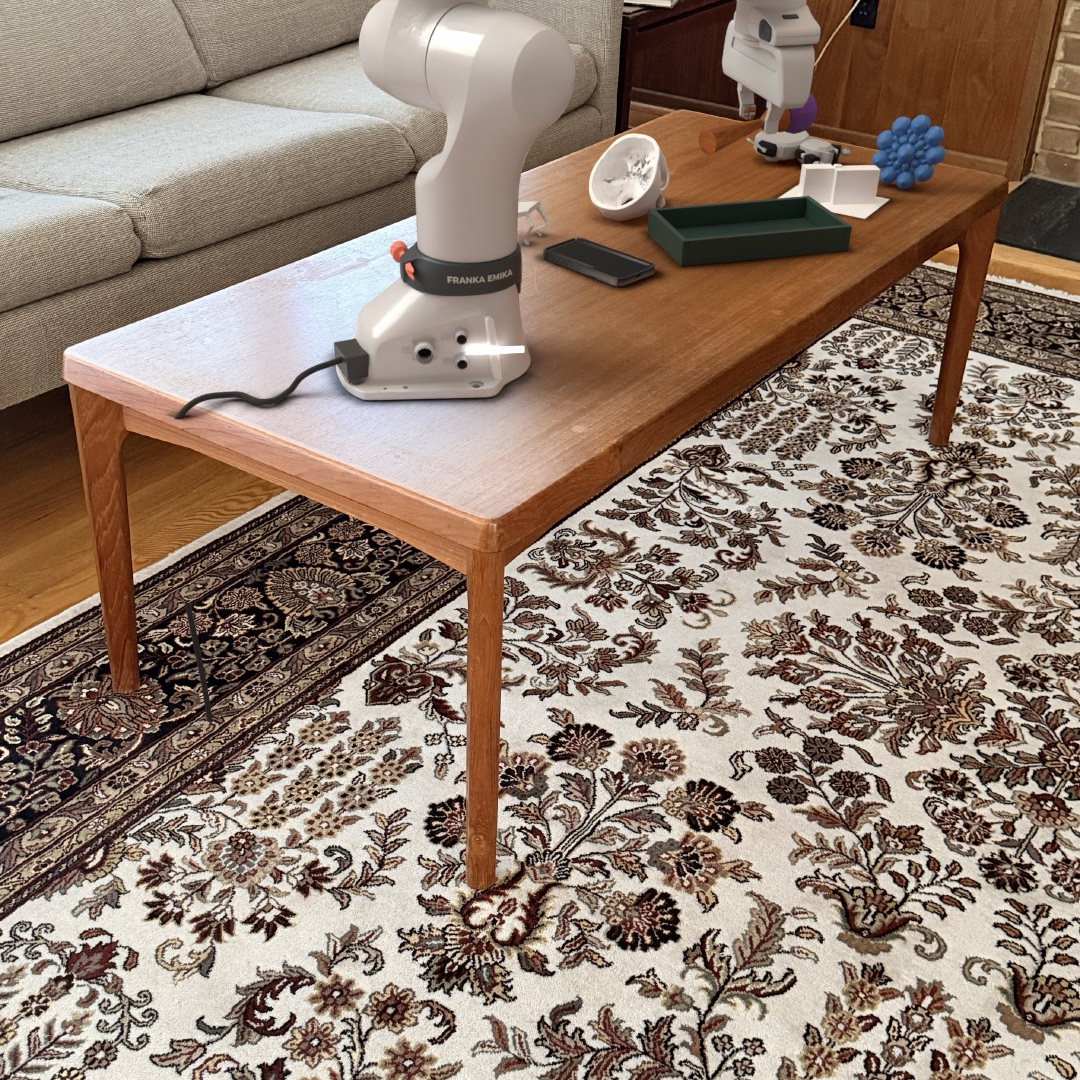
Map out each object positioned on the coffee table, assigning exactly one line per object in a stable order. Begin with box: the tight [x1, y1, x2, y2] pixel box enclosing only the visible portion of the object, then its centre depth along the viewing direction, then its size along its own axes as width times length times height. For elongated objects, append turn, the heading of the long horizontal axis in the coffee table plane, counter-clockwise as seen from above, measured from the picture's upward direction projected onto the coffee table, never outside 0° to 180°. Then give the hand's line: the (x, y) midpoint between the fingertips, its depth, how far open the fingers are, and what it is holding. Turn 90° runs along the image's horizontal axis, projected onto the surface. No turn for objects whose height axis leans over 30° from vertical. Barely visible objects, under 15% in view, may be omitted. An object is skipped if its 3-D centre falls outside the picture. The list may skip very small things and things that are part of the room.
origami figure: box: [518, 200, 551, 246], centre depth 174 cm, size 12×8×5 cm
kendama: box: [698, 92, 818, 156], centre depth 166 cm, size 6×6×20 cm
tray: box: [646, 196, 853, 267], centre depth 176 cm, size 26×14×4 cm, turn 106°
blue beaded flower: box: [871, 114, 947, 190], centre depth 196 cm, size 12×7×12 cm, turn 54°
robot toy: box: [745, 130, 851, 166], centre depth 208 cm, size 12×4×15 cm
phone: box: [542, 237, 656, 288], centre depth 168 cm, size 8×1×15 cm
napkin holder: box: [778, 163, 891, 220], centre depth 192 cm, size 15×11×6 cm
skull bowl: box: [588, 133, 671, 222], centre depth 186 cm, size 10×14×12 cm
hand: (757, 125), depth 166 cm, fingers closed on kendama, 6 cm apart
